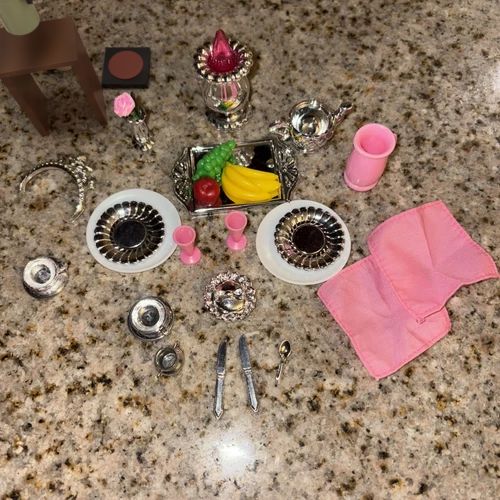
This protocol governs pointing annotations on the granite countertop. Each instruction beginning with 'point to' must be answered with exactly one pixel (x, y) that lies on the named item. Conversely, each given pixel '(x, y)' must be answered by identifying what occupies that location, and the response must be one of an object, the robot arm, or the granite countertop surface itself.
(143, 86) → the hob
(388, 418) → the granite countertop surface
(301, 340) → the granite countertop surface
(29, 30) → the jar
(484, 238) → the granite countertop surface
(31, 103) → the brown wooden stool
